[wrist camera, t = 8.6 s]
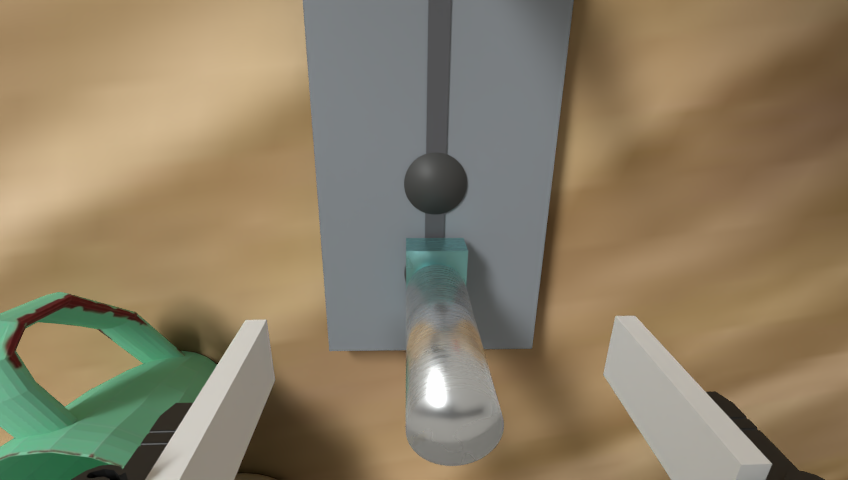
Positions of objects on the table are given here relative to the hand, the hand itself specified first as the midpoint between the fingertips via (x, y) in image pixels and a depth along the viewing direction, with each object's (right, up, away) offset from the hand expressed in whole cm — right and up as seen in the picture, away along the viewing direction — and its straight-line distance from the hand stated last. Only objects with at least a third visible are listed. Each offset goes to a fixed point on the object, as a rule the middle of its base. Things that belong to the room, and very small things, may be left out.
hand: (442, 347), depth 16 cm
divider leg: (0, +2, +7) cm, 7 cm away
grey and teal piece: (0, +10, +6) cm, 12 cm away
